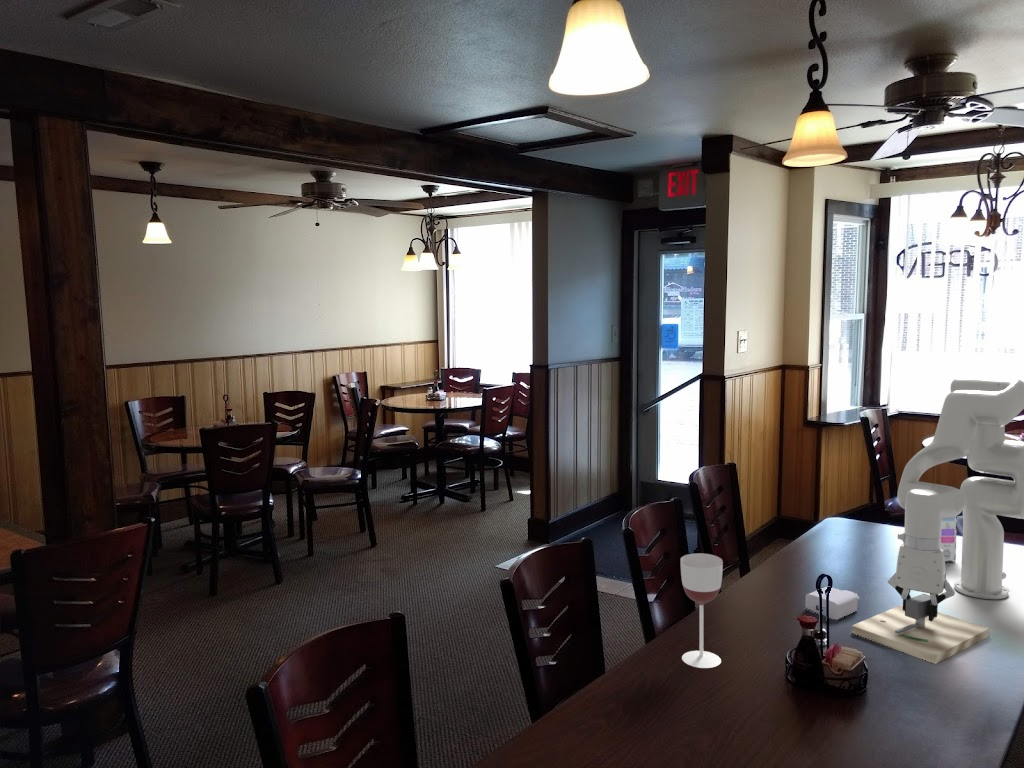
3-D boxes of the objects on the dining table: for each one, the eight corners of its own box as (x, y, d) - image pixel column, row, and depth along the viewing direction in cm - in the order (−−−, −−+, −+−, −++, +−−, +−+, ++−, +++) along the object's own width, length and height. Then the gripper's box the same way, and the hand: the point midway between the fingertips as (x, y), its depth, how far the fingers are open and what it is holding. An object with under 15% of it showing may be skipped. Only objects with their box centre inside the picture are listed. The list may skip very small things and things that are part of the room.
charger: (870, 607, 202) (837, 621, 193) (838, 596, 209) (805, 610, 201) (870, 589, 201) (838, 603, 193) (838, 580, 209) (805, 592, 200)
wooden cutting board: (906, 609, 199) (906, 602, 198) (989, 636, 182) (989, 627, 182) (851, 633, 185) (851, 625, 185) (935, 664, 169) (935, 655, 169)
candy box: (956, 562, 233) (958, 509, 231) (937, 563, 233) (938, 510, 231) (932, 548, 247) (934, 498, 245) (913, 548, 247) (915, 498, 245)
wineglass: (723, 652, 177) (724, 555, 175) (720, 671, 168) (721, 569, 166) (683, 647, 180) (683, 551, 178) (678, 666, 171) (677, 565, 169)
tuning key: (923, 620, 187) (923, 593, 186) (934, 624, 184) (935, 597, 183) (890, 632, 180) (891, 604, 180) (902, 637, 178) (903, 608, 177)
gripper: (879, 539, 184) (877, 613, 186) (959, 552, 173) (957, 630, 175) (887, 532, 190) (885, 604, 191) (966, 544, 179) (963, 620, 181)
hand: (919, 616), depth 183 cm, fingers open, 4 cm apart
